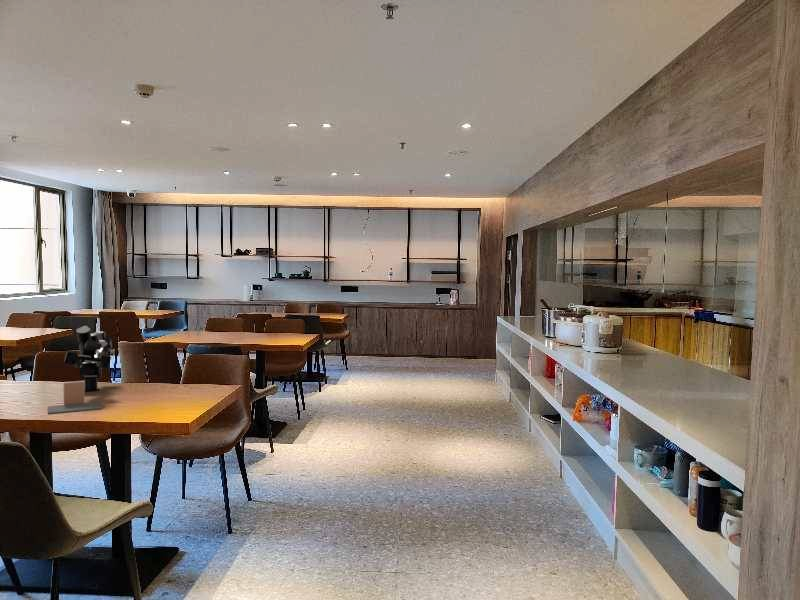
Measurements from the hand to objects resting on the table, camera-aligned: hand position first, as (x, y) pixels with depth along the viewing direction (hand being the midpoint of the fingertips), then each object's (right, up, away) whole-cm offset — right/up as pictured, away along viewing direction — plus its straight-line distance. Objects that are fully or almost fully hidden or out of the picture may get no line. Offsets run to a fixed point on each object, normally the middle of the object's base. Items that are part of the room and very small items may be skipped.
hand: (89, 369), depth 265 cm
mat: (+3, -15, -17) cm, 23 cm away
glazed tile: (-2, -15, -9) cm, 17 cm away
